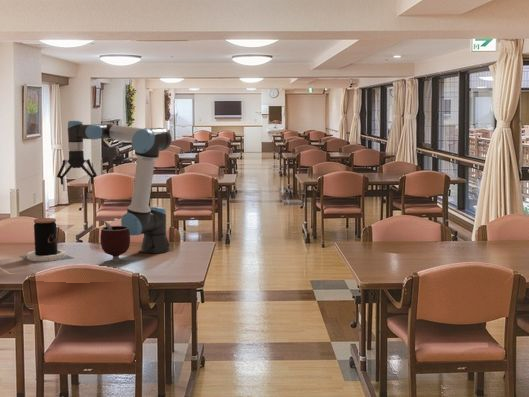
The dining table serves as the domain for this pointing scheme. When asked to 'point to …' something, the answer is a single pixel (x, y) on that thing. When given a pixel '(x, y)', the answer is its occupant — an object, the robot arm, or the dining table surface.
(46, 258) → the dish
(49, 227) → the coffee jar
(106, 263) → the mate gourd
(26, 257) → the mat
